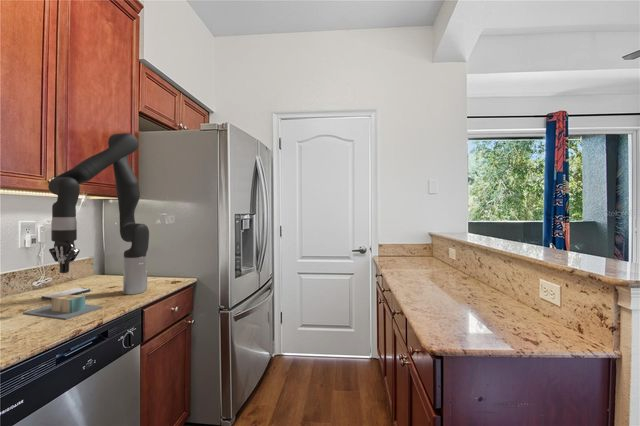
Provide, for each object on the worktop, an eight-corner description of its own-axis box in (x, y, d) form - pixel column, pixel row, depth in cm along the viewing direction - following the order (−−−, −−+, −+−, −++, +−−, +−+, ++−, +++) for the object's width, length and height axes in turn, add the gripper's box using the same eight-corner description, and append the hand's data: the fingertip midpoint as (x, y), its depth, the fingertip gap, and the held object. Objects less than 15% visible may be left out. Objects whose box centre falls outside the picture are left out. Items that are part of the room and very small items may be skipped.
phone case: (53, 302, 127) (91, 292, 143) (53, 298, 127) (91, 288, 143) (39, 299, 130) (79, 290, 145) (39, 296, 130) (79, 287, 145)
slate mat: (63, 302, 124) (63, 301, 124) (103, 307, 120) (103, 306, 120) (22, 313, 111) (22, 312, 111) (66, 319, 106) (66, 318, 106)
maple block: (65, 294, 118) (85, 296, 116) (65, 306, 118) (85, 308, 116) (51, 297, 113) (71, 299, 111) (51, 310, 113) (71, 313, 111)
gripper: (87, 228, 117) (87, 271, 118) (61, 227, 120) (61, 269, 121) (67, 229, 110) (67, 276, 110) (40, 228, 113) (40, 273, 113)
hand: (64, 272), depth 115 cm, fingers closed
